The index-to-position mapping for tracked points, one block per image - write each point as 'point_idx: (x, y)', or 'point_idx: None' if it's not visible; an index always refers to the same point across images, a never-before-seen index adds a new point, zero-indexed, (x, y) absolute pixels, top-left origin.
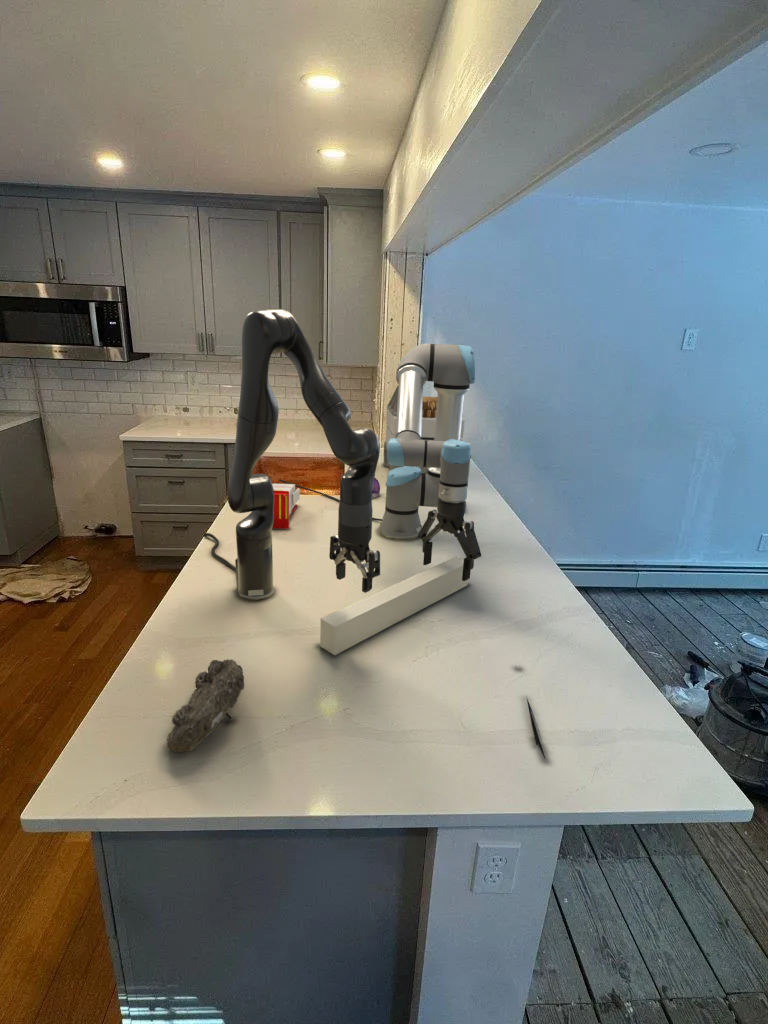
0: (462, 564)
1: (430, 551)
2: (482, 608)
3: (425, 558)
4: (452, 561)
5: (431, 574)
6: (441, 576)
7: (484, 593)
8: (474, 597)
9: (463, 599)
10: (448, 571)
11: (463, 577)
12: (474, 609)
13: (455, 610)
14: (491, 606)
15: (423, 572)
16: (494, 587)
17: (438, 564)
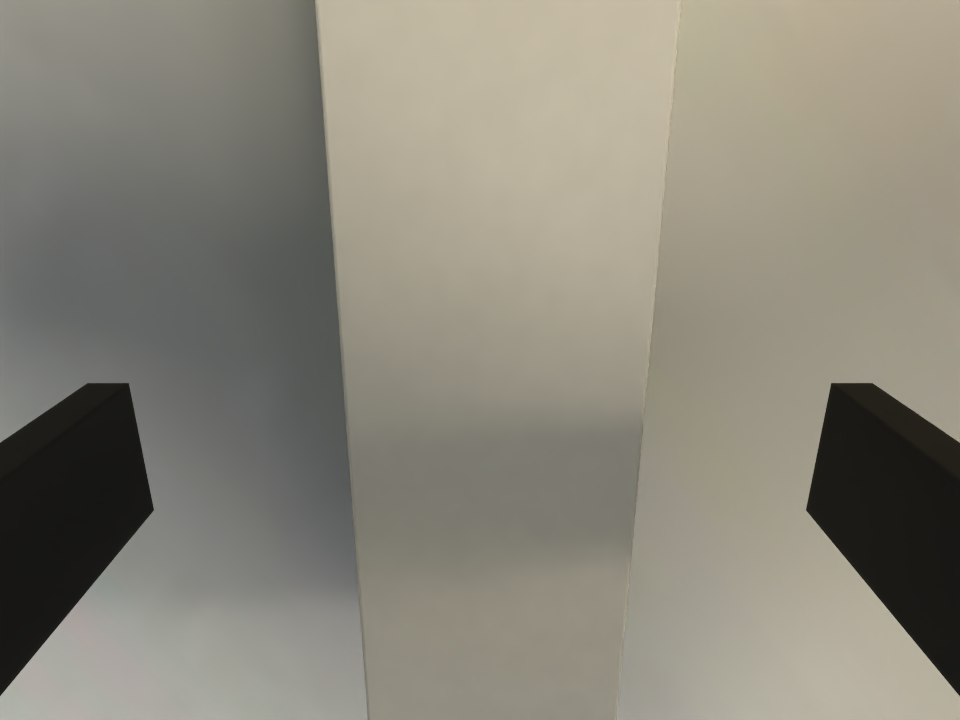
0: (385, 706)
1: (941, 619)
2: (23, 344)
3: (907, 438)
4: (543, 687)
5: (478, 64)
6: (328, 176)
7: (217, 572)
8: (218, 457)
9: (252, 354)
10: (359, 395)
11: (71, 405)
12: (48, 272)
13: (136, 104)
14: (9, 432)
15: (642, 6)
16: (241, 700)
17: (635, 477)
